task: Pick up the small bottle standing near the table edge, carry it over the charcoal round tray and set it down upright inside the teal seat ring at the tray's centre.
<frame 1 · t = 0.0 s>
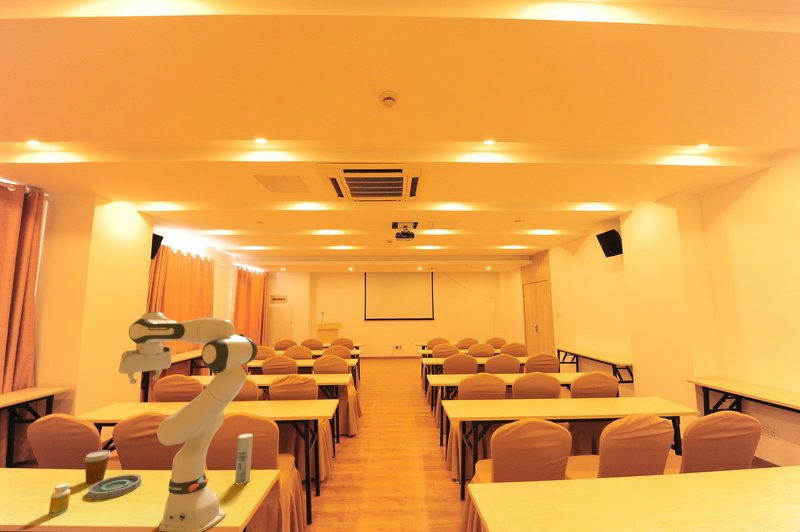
hand: (144, 381, 148), 48 cm above the table, tool pointing down, fingers open, 8 cm apart
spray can: (242, 481, 159), on the table
disposable coffee cup: (94, 481, 159), on the table
supplement bottle: (58, 512, 133), on the table
round tray: (115, 489, 151), on the table
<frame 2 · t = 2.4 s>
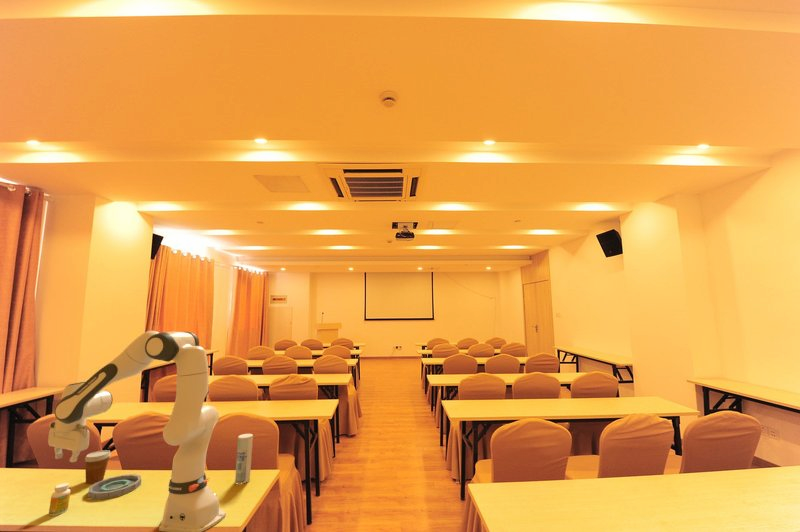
hand: (65, 460, 136), 19 cm above the table, tool pointing down, fingers open, 8 cm apart
nothing on the table moved.
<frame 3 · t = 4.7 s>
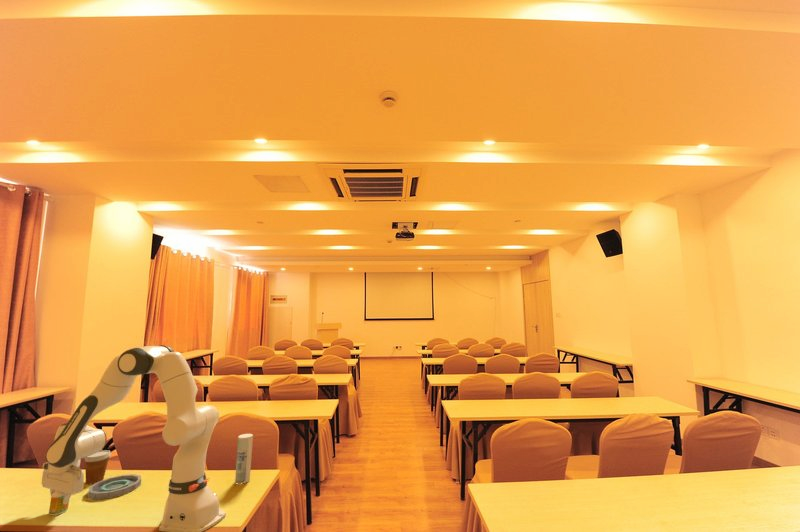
hand: (59, 502, 133), 4 cm above the table, tool pointing down, fingers closed on supplement bottle, 5 cm apart
supplement bottle: (58, 512, 133), on the table, touching gripper
everything else where it was.
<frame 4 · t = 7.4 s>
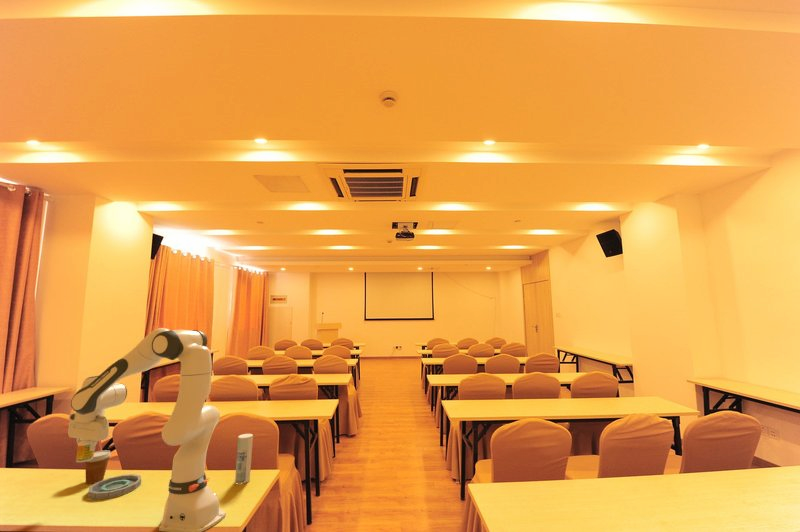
hand: (86, 449, 142), 21 cm above the table, tool pointing down, fingers closed on supplement bottle, 5 cm apart
supplement bottle: (84, 460, 141), point 17 cm above the table, touching gripper
everything else where it was.
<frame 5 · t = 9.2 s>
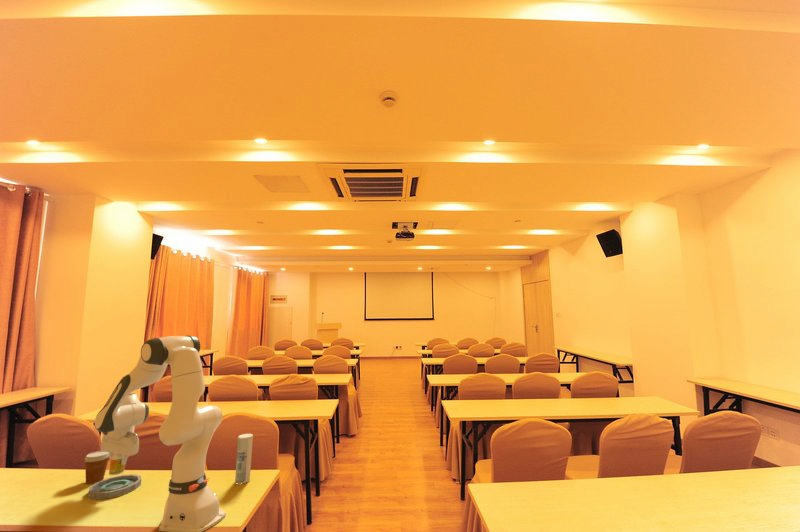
hand: (117, 463, 153), 11 cm above the table, tool pointing down, fingers closed on supplement bottle, 5 cm apart
supplement bottle: (116, 473, 152), point 6 cm above the table, touching gripper
everything else where it was.
when the fingers open (6 cm above the table, at t = 10.4 s): supplement bottle drops 2 cm, resting on round tray.
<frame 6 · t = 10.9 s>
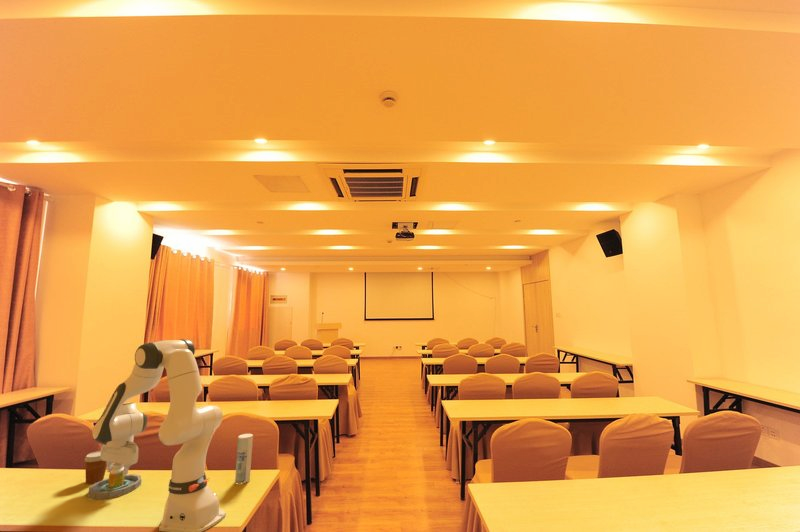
hand: (117, 473, 153), 7 cm above the table, tool pointing down, fingers open, 8 cm apart
supplement bottle: (115, 487, 151), point 1 cm above the table, touching round tray
everything else where it was.
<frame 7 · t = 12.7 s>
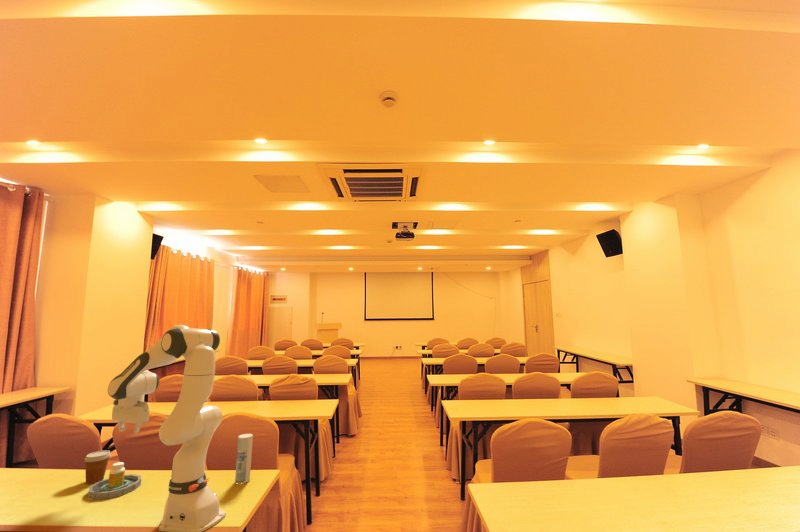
hand: (128, 432, 157), 23 cm above the table, tool pointing down, fingers open, 8 cm apart
nothing on the table moved.
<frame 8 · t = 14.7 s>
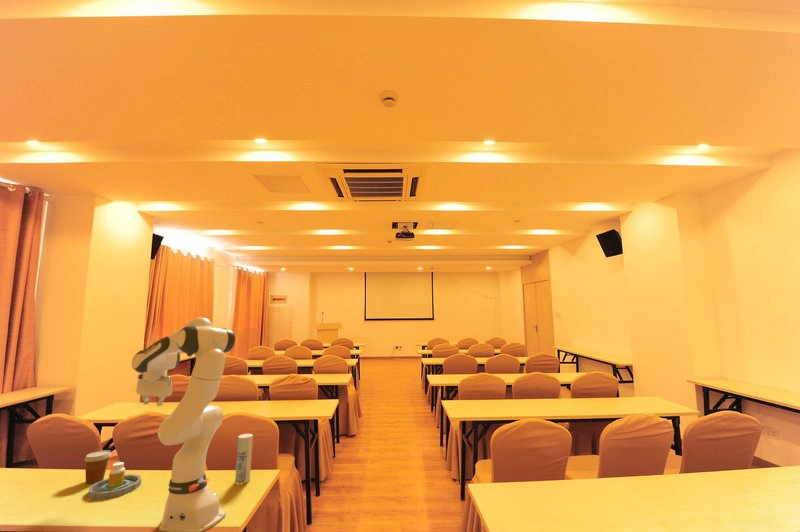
hand: (152, 405, 164), 34 cm above the table, tool pointing down, fingers open, 8 cm apart
nothing on the table moved.
at the end: supplement bottle 0.0 cm off-centre on the round tray, point 0.6 cm above the round tray's base; supplement bottle tilted 0°; the gripper is holding nothing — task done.
